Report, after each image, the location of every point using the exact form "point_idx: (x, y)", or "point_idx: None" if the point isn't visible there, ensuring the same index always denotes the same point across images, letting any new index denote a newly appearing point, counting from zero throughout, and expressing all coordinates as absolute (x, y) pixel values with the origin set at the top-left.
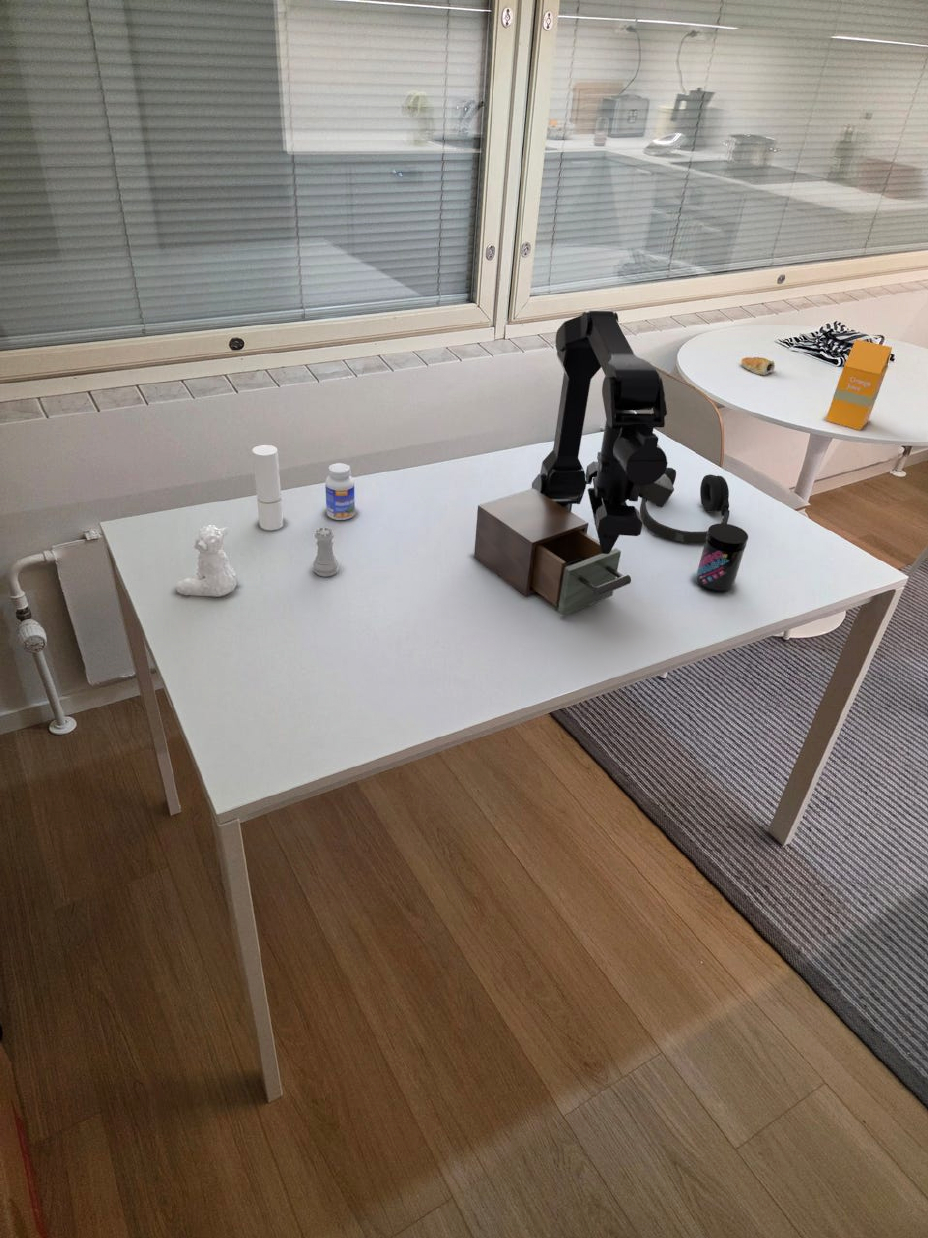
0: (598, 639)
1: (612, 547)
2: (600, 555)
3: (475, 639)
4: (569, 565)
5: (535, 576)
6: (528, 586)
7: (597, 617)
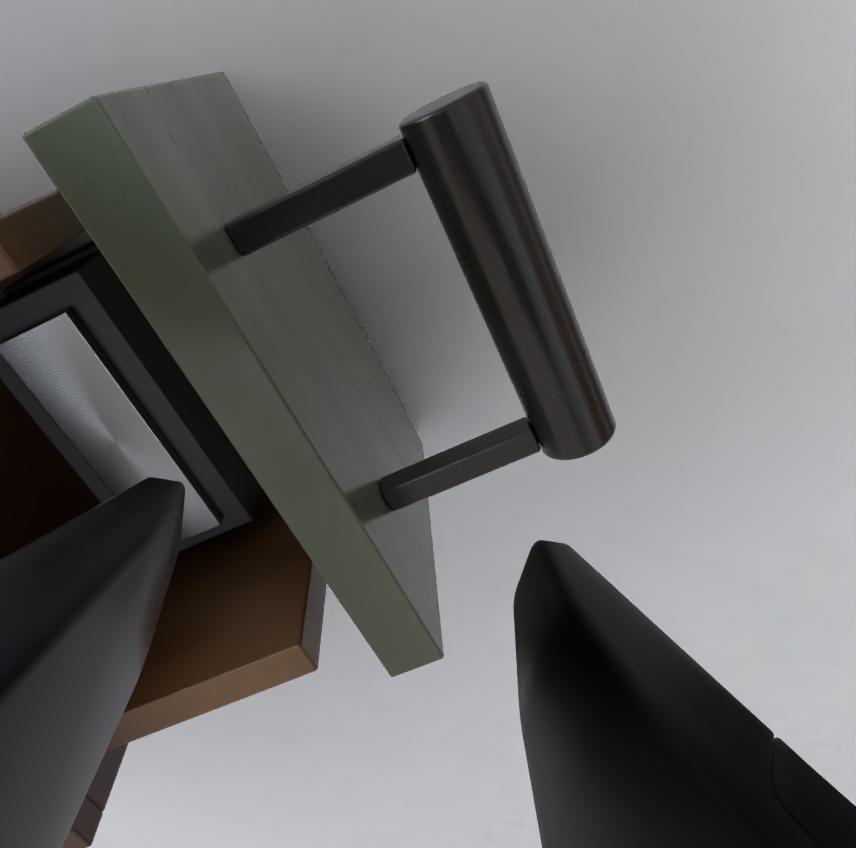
0: (607, 292)
1: (635, 607)
2: (205, 367)
3: (493, 745)
4: (99, 442)
5: None
6: None
7: (413, 232)
